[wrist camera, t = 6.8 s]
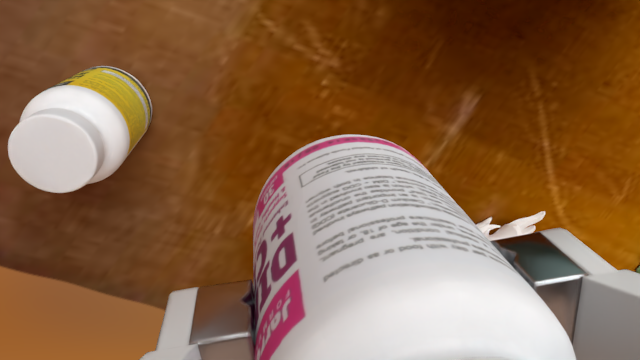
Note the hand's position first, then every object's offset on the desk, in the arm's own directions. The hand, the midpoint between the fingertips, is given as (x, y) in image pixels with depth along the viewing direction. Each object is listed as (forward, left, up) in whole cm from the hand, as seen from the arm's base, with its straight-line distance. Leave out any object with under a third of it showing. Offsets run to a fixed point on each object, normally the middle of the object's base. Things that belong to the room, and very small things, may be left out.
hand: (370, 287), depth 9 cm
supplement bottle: (+1, -12, -25) cm, 28 cm away
